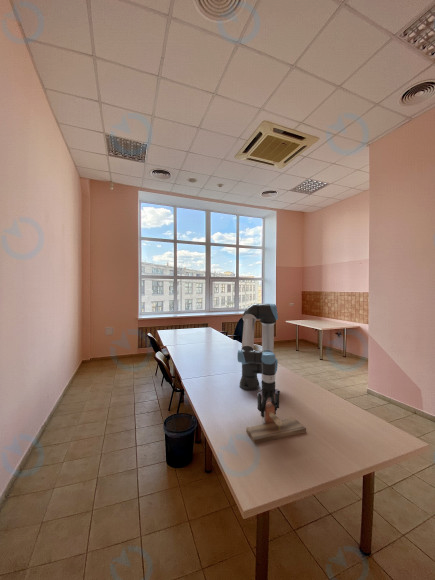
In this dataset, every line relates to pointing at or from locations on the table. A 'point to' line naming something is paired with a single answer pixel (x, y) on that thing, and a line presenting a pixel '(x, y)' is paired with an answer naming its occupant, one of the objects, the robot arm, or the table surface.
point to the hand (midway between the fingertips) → (268, 421)
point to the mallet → (271, 414)
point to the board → (275, 430)
